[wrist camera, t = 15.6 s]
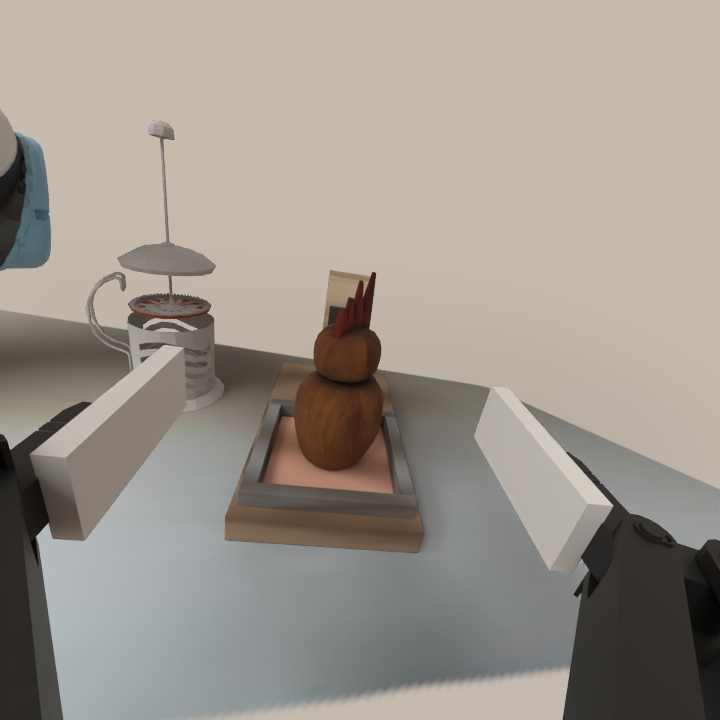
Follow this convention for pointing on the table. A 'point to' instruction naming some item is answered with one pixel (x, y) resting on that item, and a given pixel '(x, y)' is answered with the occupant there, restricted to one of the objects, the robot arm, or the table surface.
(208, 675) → the table surface
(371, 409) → the wooden figurine
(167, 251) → the french press
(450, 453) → the table surface
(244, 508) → the wooden tray stand
